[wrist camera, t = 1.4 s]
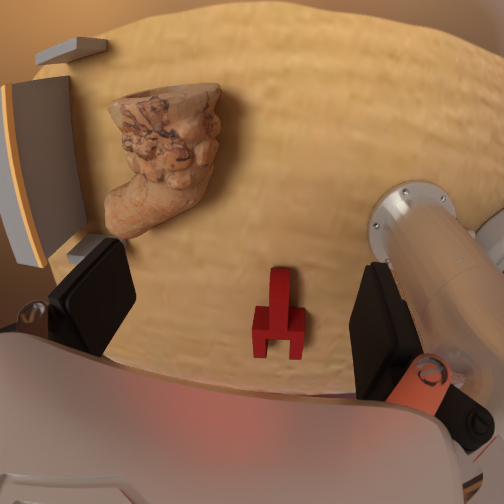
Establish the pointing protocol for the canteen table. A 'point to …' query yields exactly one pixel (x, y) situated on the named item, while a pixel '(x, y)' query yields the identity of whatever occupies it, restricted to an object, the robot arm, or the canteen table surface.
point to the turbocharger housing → (493, 238)
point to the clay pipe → (163, 154)
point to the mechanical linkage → (278, 318)
